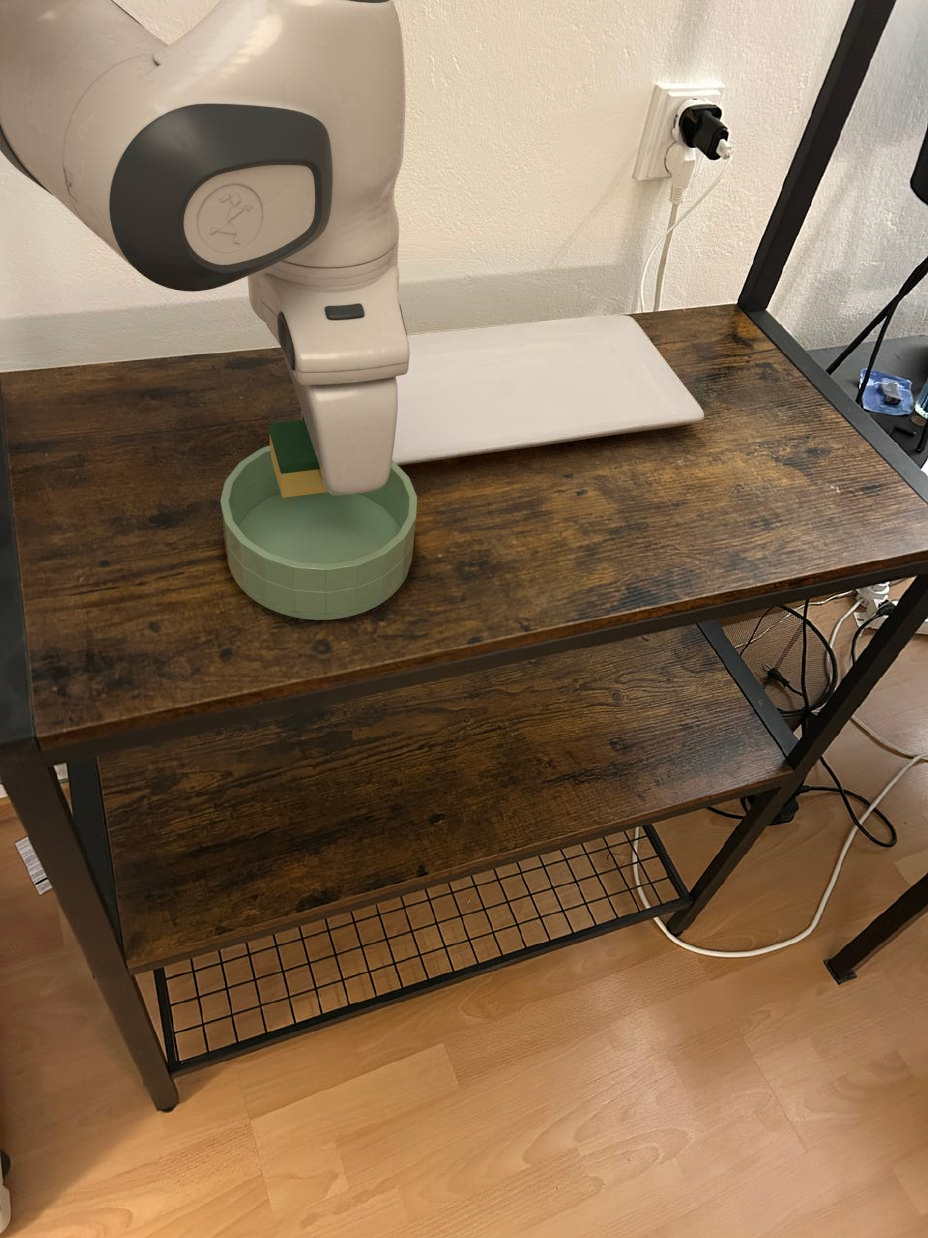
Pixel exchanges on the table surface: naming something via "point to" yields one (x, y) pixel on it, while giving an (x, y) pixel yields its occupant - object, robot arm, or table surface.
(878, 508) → the table surface
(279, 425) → the sponge
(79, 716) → the table surface
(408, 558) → the bowl
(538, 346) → the tray
